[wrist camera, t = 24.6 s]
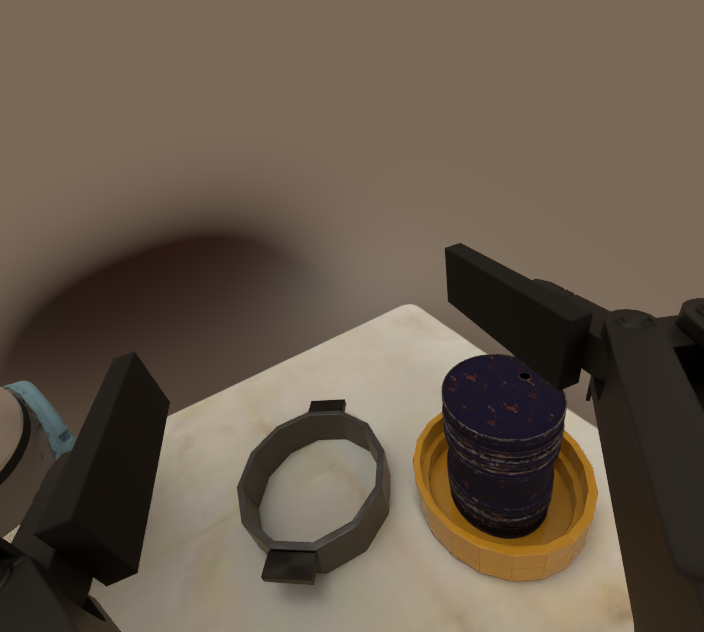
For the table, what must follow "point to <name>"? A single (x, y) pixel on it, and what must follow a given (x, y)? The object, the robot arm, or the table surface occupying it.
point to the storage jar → (501, 443)
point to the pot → (340, 545)
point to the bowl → (498, 553)
